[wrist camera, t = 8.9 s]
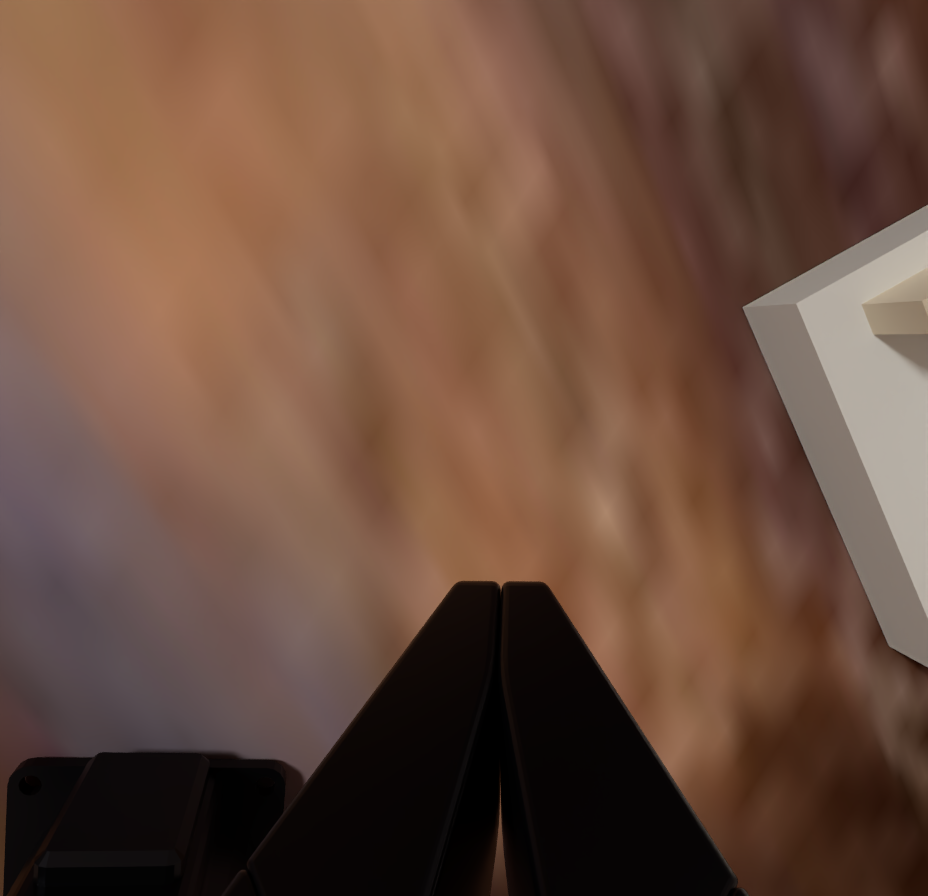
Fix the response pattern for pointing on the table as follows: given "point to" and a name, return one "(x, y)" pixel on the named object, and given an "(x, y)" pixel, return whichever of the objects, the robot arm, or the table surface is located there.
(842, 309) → the cream l-shaped bracket
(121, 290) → the table surface
